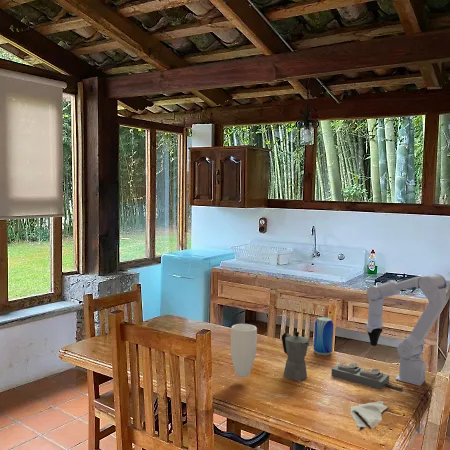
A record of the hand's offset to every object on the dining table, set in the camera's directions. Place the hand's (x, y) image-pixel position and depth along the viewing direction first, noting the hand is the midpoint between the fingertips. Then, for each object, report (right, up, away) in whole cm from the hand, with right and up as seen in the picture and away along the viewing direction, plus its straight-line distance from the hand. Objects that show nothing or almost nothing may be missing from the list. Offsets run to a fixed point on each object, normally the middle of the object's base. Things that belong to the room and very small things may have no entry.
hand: (373, 345), depth 198 cm
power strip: (-7, -10, -15) cm, 20 cm away
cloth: (-15, -13, -43) cm, 47 cm away
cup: (-57, -9, -21) cm, 61 cm away
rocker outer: (-13, -6, -11) cm, 18 cm away
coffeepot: (-36, -9, -11) cm, 39 cm away
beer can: (-18, -8, +17) cm, 26 cm away
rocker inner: (-6, -7, -17) cm, 19 cm away
